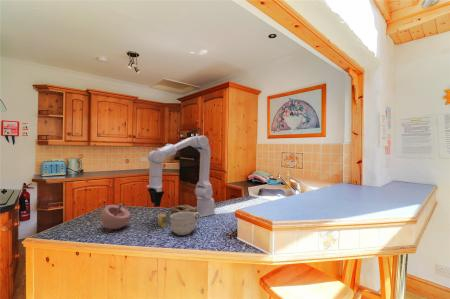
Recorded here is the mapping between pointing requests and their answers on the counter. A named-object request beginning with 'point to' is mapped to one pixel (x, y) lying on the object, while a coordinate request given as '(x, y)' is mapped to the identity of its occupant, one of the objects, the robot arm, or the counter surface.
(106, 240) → the counter surface
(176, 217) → the teacup
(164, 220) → the brass token
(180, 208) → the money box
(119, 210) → the mortar and pestle
